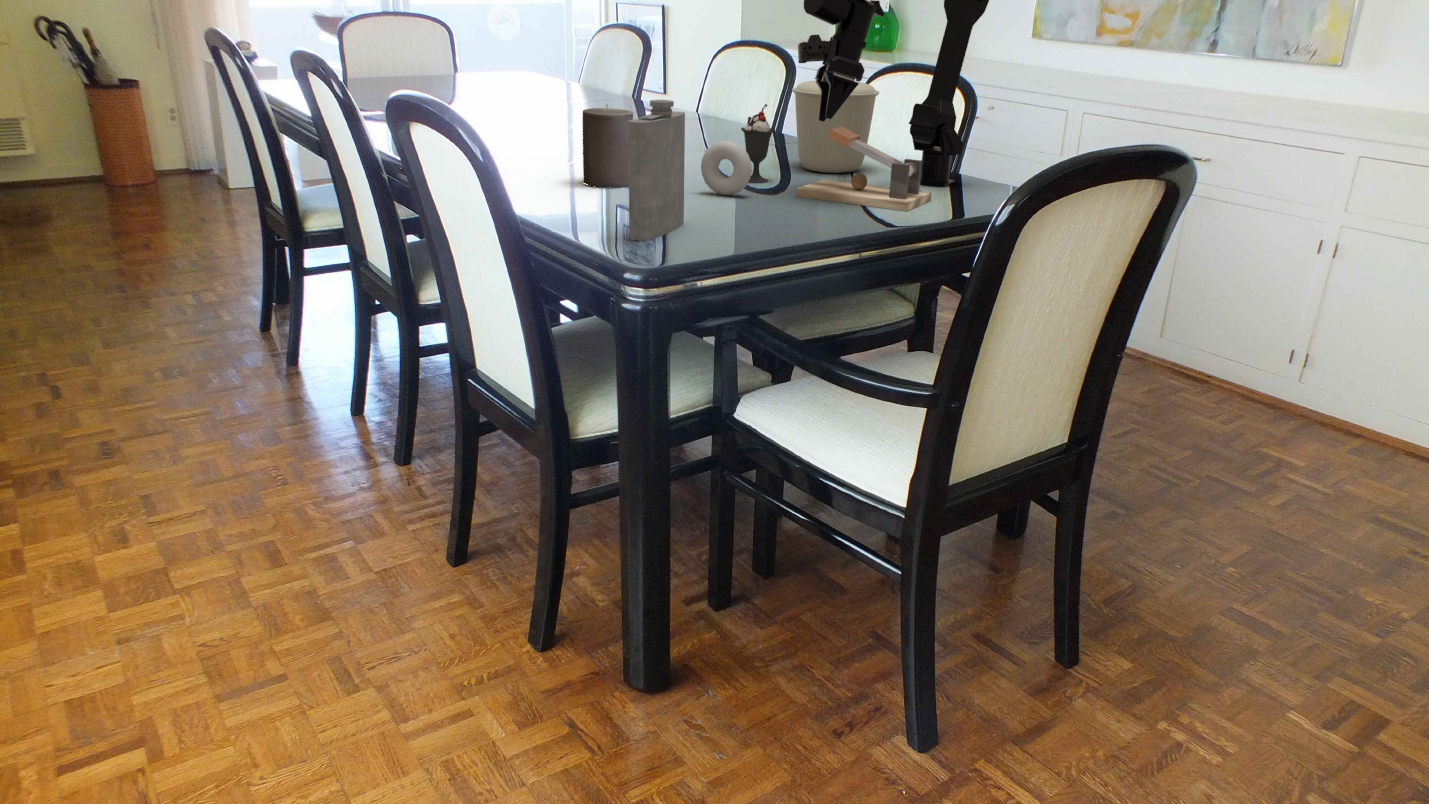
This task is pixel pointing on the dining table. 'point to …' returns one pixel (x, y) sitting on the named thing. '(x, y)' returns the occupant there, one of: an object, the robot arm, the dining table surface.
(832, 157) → the canister
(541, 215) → the dining table surface
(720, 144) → the donut
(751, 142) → the sundae
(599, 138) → the pillar candle
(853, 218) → the dining table surface
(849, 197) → the base
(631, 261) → the dining table surface
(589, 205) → the dining table surface
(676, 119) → the hip flask
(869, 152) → the lever
